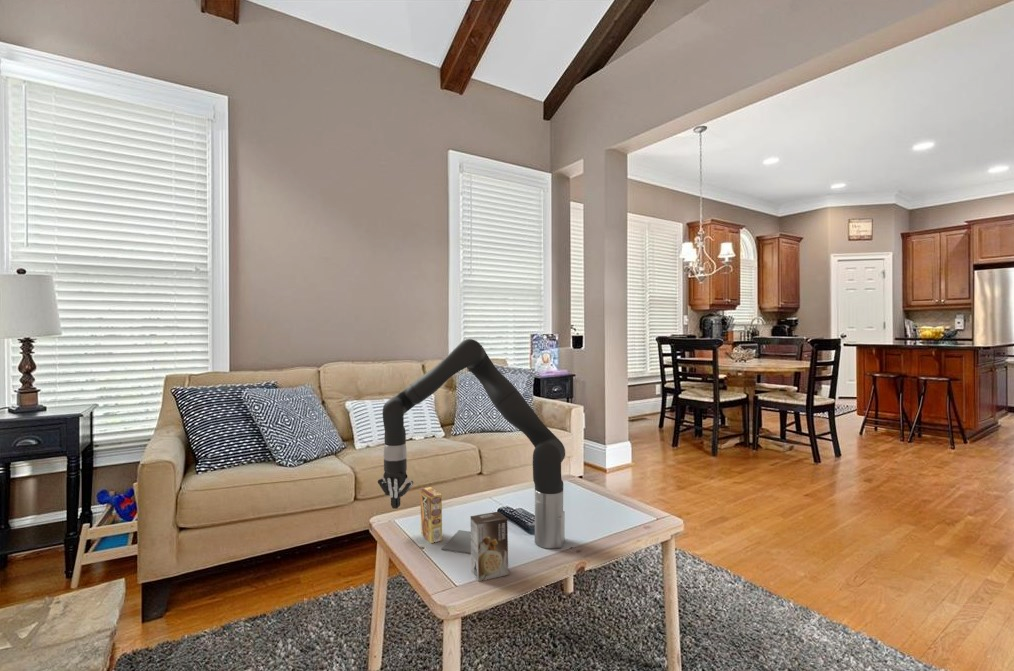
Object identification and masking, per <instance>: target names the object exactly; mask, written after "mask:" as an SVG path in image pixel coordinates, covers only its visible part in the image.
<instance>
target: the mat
mask: <svg viewBox="0 0 1014 671" xmlns="http://www.w3.org/2000/svg"><path fill="white" fill-rule="evenodd" d="M440 550H441V551H446V552H452V553H453V552H454V553H461V554H467V555H471V530H470V531H469V530H462V529H459V530H457V532H455V533H454V535H453V536H451V538H449V540H448V541H447V542H446V543H445V544H444V545H443V546H442V547H441V549H440Z"/></svg>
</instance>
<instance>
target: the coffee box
mask: <svg viewBox="0 0 1014 671" xmlns="http://www.w3.org/2000/svg"><path fill="white" fill-rule="evenodd" d="M470 532H471V554H470V572H471V573H472V575H473V576H474V577H475V579H476V580H477V581H478V582H483V581H486V580H487V579H488V580H491V579H495V578H500V577H504V576H508V575H509V550H508V549H509V541H508V540H509V539H508V535H509V534H508V518H507V517H506V516H505V515H504V514H503V513H501V512H500V511H492V512H488V513H482V514H477V515H471V516H470ZM482 580H483V581H482Z"/></svg>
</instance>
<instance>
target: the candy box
mask: <svg viewBox="0 0 1014 671" xmlns="http://www.w3.org/2000/svg"><path fill="white" fill-rule="evenodd" d="M442 496H443V495H442V494H441V493H440V492H439V491H438V490H436V489H434V488H433V487H431V486H430V487H424V488H421V489H420V496H419V498H420V534H421V535H422V537H424V538H425V539H426V540H427V541H428V542H429V543H430V544H434V542H435V543H438V542H442V541H443V502H442V500H443V498H442Z"/></svg>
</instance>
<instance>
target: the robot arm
mask: <svg viewBox="0 0 1014 671" xmlns="http://www.w3.org/2000/svg"><path fill="white" fill-rule="evenodd" d="M466 368H467V370H468V371H470V373H471V374H472V375H474V377H475V378H476V379H477V380H478V381H479V382H480V383H481V385H482V386H483V389H484V391H485V393H486V394H487V397H488V398H489V400H490V401H491V403H492V404H493V406H494V407H495V409H496V410H498V412H499V414H500V415H501V416H502V417H503V418H504V419H505V420H506V422H508V423H509V424H511V425H512V426H514V427H515V428H516V429H517V430H519V431H520V432H522V434H524V435H525V436H526V437H527V439H528V440H529V441H530V443H531V444H532V445H533V447H534V450H533V452H532V478H533V480H532V481H533V483H534V543H535V545H537V546H538V547H540V548H543V549H557V548H558V549H562V547H563V544H564V542H565V540H566V539H565V538H566V537H565V532H566V531H565V529H566V528H565V523H566V522H565V521H566V520H565V519H566V516H565V511H564V481H563V480H562V462H563V461H564V460H565V459H566V458H565V457H566V448H565V445H564V444H563V442H562V441H561V440H560V439H559V438H558V437H557V436H556V435H555V434H554V433H553V432H552V431H551V430H550V429H549V428H548V427H547V425H545V424H544V422H543V421H542V420H541V418H539V416H538V414H536V412H535V410H534V409H533V408H532V407H531V406H530V404H529V403H528V401H526V399H525V398H524V396H522V394H521V392H520V391H519V390H518V389H517V388H516V387H515V386H514V384H513V383H511V382H510V380H509V379H508V378H507V377H506V376H505V375H503V374H502V373H501V371H499V369H498V368H497V367H496V366H495V364H494V362H493V361H492V360H491V359H490V357H489V356H488V354H487V352H486V350H485V348H484V347H483V345H482V344H480V342H479V341H477V340H475V339H473V338H467V339H464V340H463V341H461V342H460V343H459V344H458V345H457V346H456V347H455V348H454V349H453V350H452V351H451V352H450V353H449V354H448V355H446V357H445V358H443V359H442V360H441V361H440V362H438V364H437V365H435V366H433V367H432V368H431V369H430V370H428V371H427V372H426V373H425V374H423V375H422V376H420V377H418V378H417V379H416V380H414V381H413V382H412V383H411V384H409V385H407V387H406V388H405V389H404V390H402V391H400V392H398V393H397V394H396V395H393V396H392V397H391V398H389V400H387V401H386V402H385V403H384V404H383V407H382V422H383V427H384V428H383V429H384V438H383V439H384V447H383V471H384V473H383V475H382V476H383V477H381V478H379V479H378V480H377V483H378V485H379V486H380V489H382V492H384V494H385V495H386V496H388V497H390V506H391V508H392V509H394V510H397V509H399V507H400V506H401V497H403V496H405V495H406V494H407V492H408V491H409V490H410V488H411V487H412V485H414V481H413V480H410V479H409V478H408V474H407V470H408V468H407V467H408V466H407V462H408V460H407V457H408V454H407V442H406V441H407V436H406V432H407V431H406V428H405V425H404V421H405V420H404V418H405V417H404V416H405V414H406V413H407V412H408V411H410V410H412V408H413V407H415V406H416V405H419V404H421V403H422V402H423V401H425V400H427V399H428V398H429V397H431V396H432V395H434V393H436V392H437V391H438V390H439V389H440V388H441V387H442V386H443V385H444V384H445V383H446V382H447V381H448V380H449V379H451V378H452V377H453V376H454V375H456V374H457V373H459V372H460V371H462V370H464V369H466ZM403 485H404V487H403Z"/></svg>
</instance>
